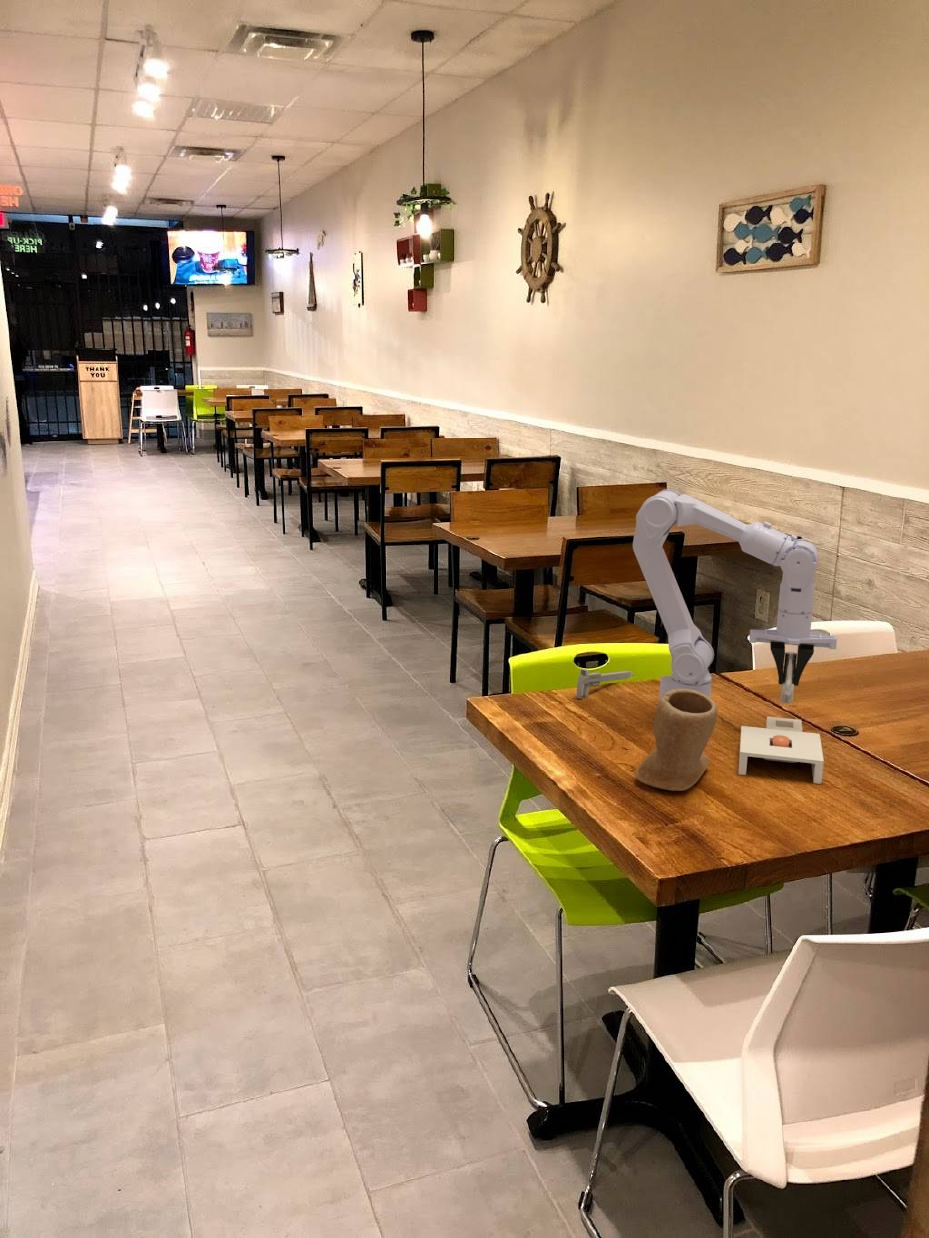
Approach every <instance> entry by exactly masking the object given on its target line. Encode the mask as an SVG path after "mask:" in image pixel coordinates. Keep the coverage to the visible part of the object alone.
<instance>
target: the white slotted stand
mask: <svg viewBox="0 0 929 1238" xmlns="http://www.w3.org/2000/svg"><path fill="white" fill-rule="evenodd" d="M776 735H781V736H786V737H788V738H789V748H788V747H779V746H772V745H773V737H774V736H776ZM739 741H740V742H739V756H738V757H739V758H738V772H737V773H738V775H739V776H740V775H743V776H746V775H747V767H748V766H747V764H748V757H752V758H760V759H761V758H762V759H765V758H768V759H777V760H786V761H795V763H799V762H800V763H806V764H810V765H811V773H812V781H813V784H818V785H819V784H820V785H821V784H822V782H823V780H822V779H823V773H824V772H823V771H824V761H825V760H824V754H823V753H824V752H823V749H822V748H823V747H822V746H823V745H822V741H821V735H820V733H815V732H807V731H806V732H805V731H803V732H797V731H787V730H777V729H768V728H766V727H756V726H746V725H741V727H740V740H739Z"/></svg>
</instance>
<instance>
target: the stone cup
mask: <svg viewBox="0 0 929 1238" xmlns="http://www.w3.org/2000/svg"><path fill="white" fill-rule="evenodd" d="M717 716H718V707H717V704H716V702H715V701H714V700H713V699H712V698H711V696H710V697H708V696H706V695H705V694H703V693H700V692H698V691H695V690H690V689H674V690H670V691H668V692H667V693H665V694H664V695H663V696H662V697H661V699H660V701H659V700H658V704H657V706H656V711H655V715H654V722H653V733H654V739H655V748H654V749H653V750H652V751H651V752H650V753H649V754H648V755H647V756H646V758H644V760H643V761H642V762H641V763H640V764H639V766H637V768H636V770H635V777H636V779H637V780H638V781H639V782H641V783H643V784H645V785H647V786H650V787H653V788H656V789H662V790H665V791H666V790H667V791H677V792H681V791H686V790H688V789H691V788H692V787H693V786H694V785H695V784H696V783H697V782H699V780H700V779H701V776H702V775H703V774H704V773H705V771H706V769H707V768H708V767H709V765H710V763H711V759H710V758H709V757H708V756H707V755H706V754H704V750H705V748H706V747H707V744H708V742H709V741H710V739H711V737H712V734H713V733H714V731H715V727H716V723H717Z"/></svg>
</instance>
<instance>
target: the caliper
mask: <svg viewBox="0 0 929 1238" xmlns="http://www.w3.org/2000/svg"><path fill="white" fill-rule="evenodd" d="M589 671H590V670H589V669H586V668H584V669H580V674H579V675H578V678H577V683H576V698H577V699H578V700H583V698H584V699H587V698H588V695H589V693H590V689H591V687H600V683H604V682H605V683H606V682H612V681H620V680H628V679H629V678H631V677H633V676H635V675H634V673H632V671H628V670H622V671H615V672H608V673H607V672H606V673H600V672H592V673H589Z"/></svg>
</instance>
